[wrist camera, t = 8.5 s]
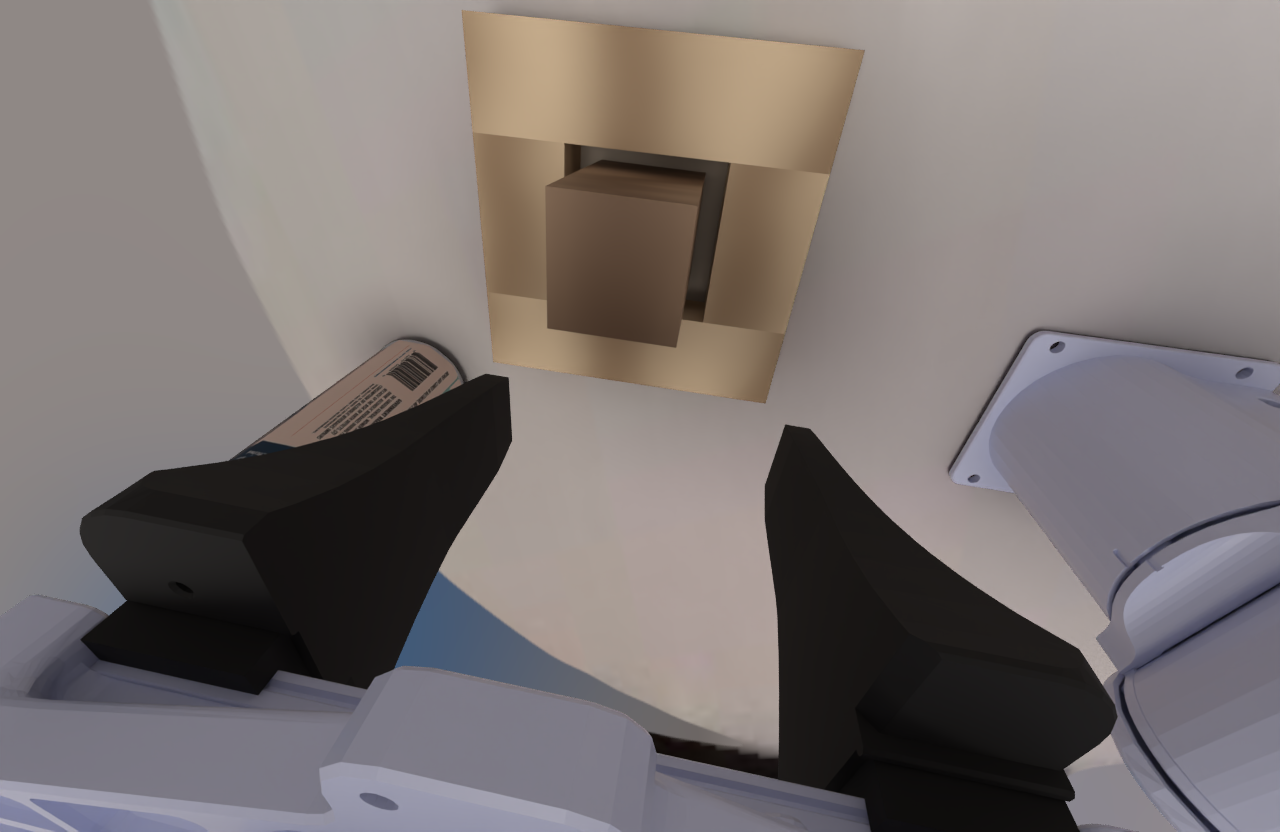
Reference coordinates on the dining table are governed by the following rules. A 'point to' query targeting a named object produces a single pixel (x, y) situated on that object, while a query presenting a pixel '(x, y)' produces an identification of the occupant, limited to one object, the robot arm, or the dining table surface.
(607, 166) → the walnut peg
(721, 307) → the oak socket block
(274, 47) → the dining table surface
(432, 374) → the beer can
